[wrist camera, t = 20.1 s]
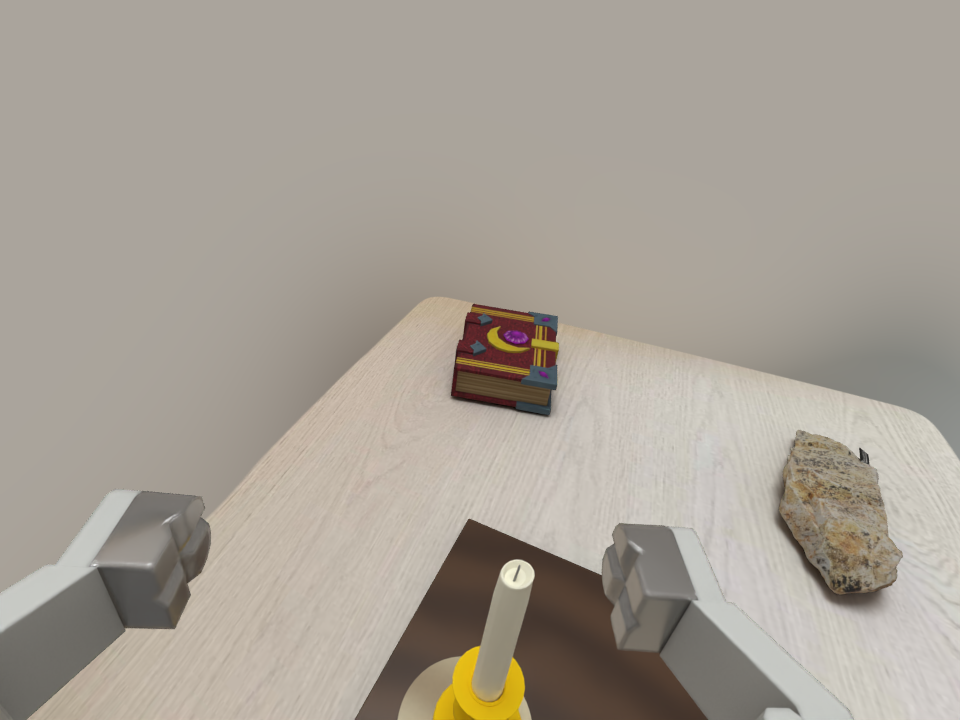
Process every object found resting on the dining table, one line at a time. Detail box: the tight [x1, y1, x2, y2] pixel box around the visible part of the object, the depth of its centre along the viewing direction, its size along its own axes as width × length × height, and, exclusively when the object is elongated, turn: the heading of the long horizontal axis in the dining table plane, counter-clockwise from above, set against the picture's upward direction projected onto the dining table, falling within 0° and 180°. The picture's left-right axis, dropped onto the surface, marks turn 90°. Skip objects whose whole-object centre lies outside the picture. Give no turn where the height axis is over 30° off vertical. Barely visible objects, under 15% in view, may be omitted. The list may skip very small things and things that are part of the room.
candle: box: [433, 560, 535, 720], centre depth 27 cm, size 5×5×16 cm
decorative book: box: [451, 304, 559, 415], centre depth 64 cm, size 11×16×5 cm
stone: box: [779, 430, 903, 595], centre depth 50 cm, size 21×6×10 cm
